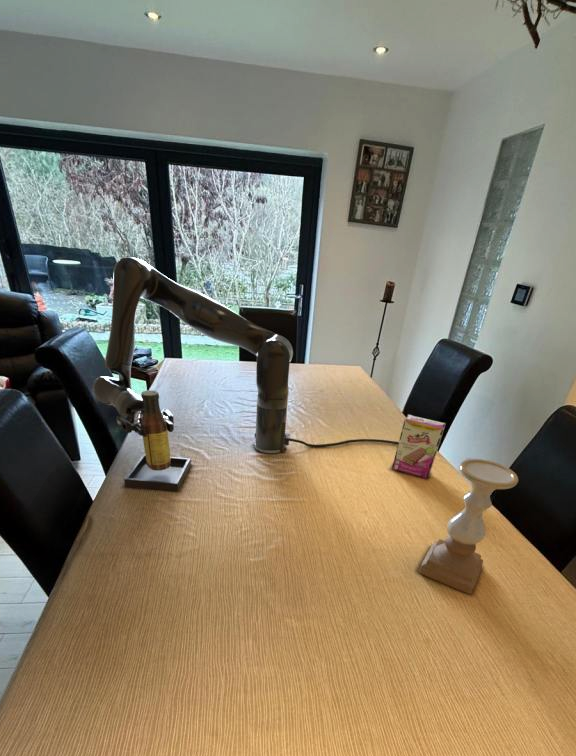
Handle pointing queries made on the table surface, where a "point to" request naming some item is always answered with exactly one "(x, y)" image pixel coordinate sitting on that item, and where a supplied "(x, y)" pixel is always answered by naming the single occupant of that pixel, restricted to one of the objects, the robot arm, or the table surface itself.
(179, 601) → the table surface
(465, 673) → the table surface
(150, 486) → the dark square tray
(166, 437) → the sauce bottle
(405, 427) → the candy bar box
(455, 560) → the candle holder
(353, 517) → the table surface
